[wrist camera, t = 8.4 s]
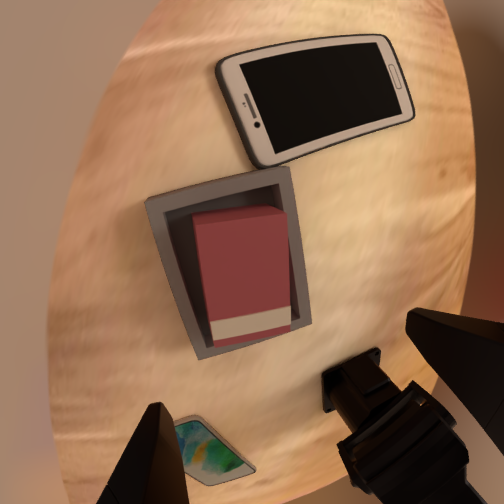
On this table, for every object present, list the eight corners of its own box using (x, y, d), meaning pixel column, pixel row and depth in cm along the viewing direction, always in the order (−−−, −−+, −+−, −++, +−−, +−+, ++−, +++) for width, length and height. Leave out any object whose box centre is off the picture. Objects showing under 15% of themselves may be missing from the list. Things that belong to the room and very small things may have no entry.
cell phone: (410, 119, 19) (418, 119, 18) (253, 174, 18) (257, 174, 17) (380, 36, 16) (387, 33, 15) (208, 65, 15) (211, 59, 14)
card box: (191, 212, 16) (195, 226, 13) (265, 203, 17) (287, 213, 14) (207, 317, 19) (214, 349, 15) (271, 304, 20) (290, 332, 16)
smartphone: (208, 487, 26) (133, 437, 21) (207, 482, 27) (133, 430, 22) (259, 471, 27) (198, 417, 21) (257, 466, 28) (197, 410, 22)
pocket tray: (300, 309, 21) (312, 323, 19) (195, 342, 20) (198, 360, 18) (276, 165, 17) (289, 166, 15) (148, 197, 16) (144, 202, 14)
